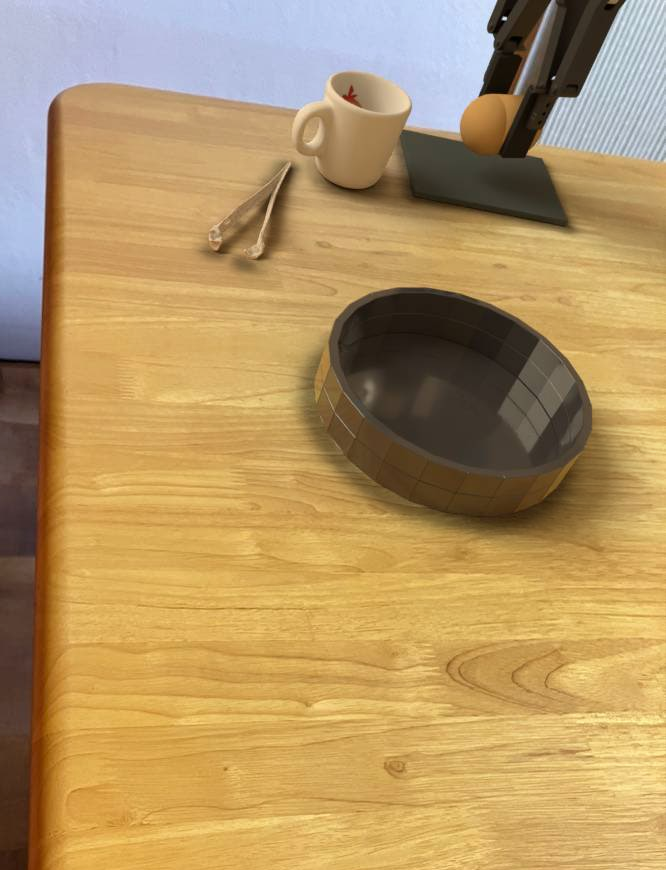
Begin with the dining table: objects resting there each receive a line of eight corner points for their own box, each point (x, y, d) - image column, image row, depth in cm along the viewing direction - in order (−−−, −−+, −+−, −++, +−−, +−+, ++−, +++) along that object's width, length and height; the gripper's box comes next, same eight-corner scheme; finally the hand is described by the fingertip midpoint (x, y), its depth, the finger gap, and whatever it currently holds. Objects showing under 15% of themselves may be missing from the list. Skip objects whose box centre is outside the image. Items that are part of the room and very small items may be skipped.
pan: (532, 353, 73) (557, 310, 70) (590, 537, 61) (624, 495, 58) (306, 315, 70) (321, 268, 66) (320, 502, 58) (339, 455, 54)
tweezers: (257, 267, 72) (262, 245, 71) (203, 248, 73) (208, 225, 71) (309, 185, 84) (315, 165, 83) (263, 168, 85) (268, 148, 83)
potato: (511, 137, 91) (535, 85, 87) (538, 167, 88) (564, 114, 84) (441, 136, 88) (463, 81, 84) (467, 166, 85) (490, 111, 81)
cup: (299, 201, 80) (323, 115, 74) (265, 153, 84) (284, 68, 78) (399, 197, 84) (428, 115, 78) (362, 151, 88) (387, 70, 82)
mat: (539, 163, 95) (542, 158, 95) (565, 226, 88) (568, 221, 87) (399, 134, 92) (401, 128, 92) (413, 196, 85) (415, 190, 85)
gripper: (523, -193, 72) (422, 89, 90) (653, -103, 63) (512, 193, 81) (593, -179, 75) (482, 91, 93) (728, -91, 66) (575, 192, 84)
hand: (496, 138), depth 87 cm, fingers closed on potato, 5 cm apart
